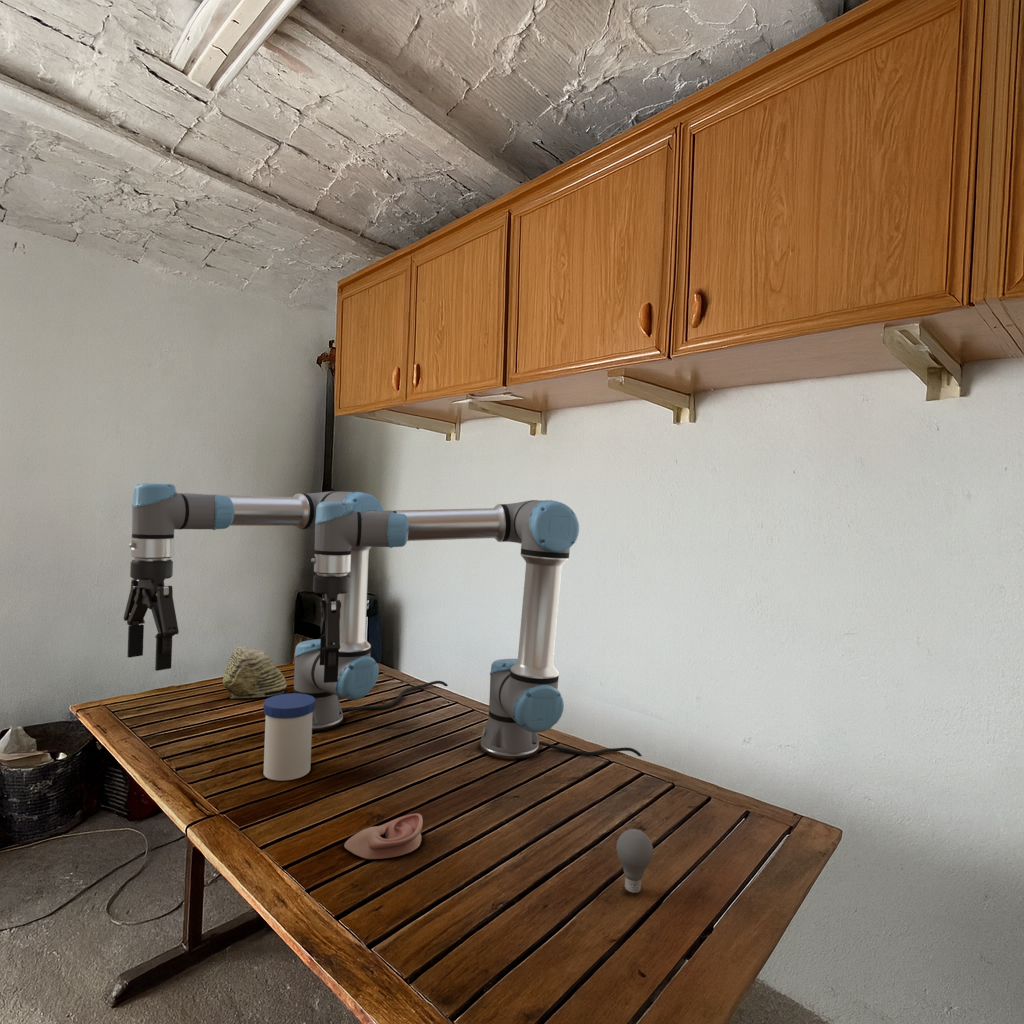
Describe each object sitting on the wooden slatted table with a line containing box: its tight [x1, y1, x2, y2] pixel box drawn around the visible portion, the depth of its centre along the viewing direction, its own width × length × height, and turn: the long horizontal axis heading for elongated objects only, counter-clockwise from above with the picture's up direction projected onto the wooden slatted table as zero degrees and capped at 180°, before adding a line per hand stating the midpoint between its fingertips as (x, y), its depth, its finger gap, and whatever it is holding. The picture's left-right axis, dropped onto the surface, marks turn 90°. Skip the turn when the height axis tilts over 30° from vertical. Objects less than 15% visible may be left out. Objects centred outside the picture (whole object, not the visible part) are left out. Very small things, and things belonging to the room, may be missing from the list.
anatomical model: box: [343, 813, 424, 860], centre depth 117 cm, size 13×4×12 cm
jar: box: [262, 712, 313, 782], centre depth 145 cm, size 10×10×16 cm
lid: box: [262, 692, 315, 718], centre depth 145 cm, size 11×11×2 cm
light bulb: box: [615, 828, 654, 894], centre depth 106 cm, size 6×6×10 cm
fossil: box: [222, 646, 288, 699], centre depth 198 cm, size 9×18×15 cm, turn 132°
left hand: (148, 662), depth 129 cm, fingers open, 13 cm apart
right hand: (328, 673), depth 135 cm, fingers open, 13 cm apart
